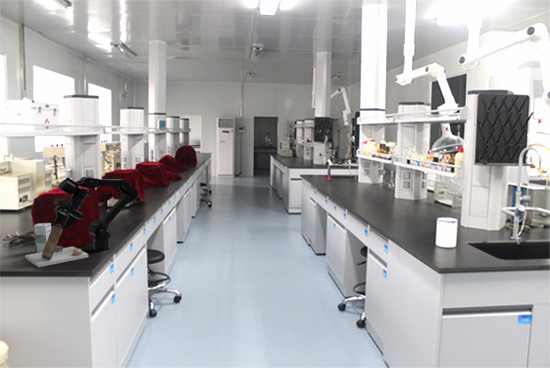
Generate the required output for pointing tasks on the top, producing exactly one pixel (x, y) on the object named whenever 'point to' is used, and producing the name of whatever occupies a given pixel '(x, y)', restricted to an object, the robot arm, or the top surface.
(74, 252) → the terracotta button
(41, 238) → the syrup box
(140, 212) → the top surface
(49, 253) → the walnut lever
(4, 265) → the top surface
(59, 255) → the control panel
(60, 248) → the grey rectangular block
